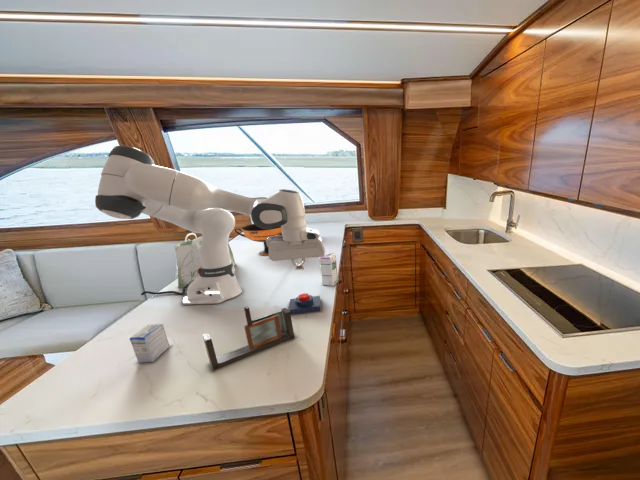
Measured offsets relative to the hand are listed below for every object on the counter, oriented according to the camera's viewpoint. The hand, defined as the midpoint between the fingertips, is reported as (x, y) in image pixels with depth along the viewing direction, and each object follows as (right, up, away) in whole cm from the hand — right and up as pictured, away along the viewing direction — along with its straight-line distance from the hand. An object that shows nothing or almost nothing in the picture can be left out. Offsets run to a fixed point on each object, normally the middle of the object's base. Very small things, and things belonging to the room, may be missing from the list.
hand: (299, 269), depth 115 cm
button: (0, -12, +5) cm, 13 cm away
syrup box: (+5, -7, +29) cm, 31 cm away
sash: (-4, -23, -20) cm, 31 cm away
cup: (-47, +10, +78) cm, 92 cm away
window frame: (-7, -25, -21) cm, 34 cm away
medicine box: (-38, -27, -23) cm, 51 cm away
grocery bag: (-62, -3, +43) cm, 76 cm away
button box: (0, -16, +6) cm, 17 cm away
